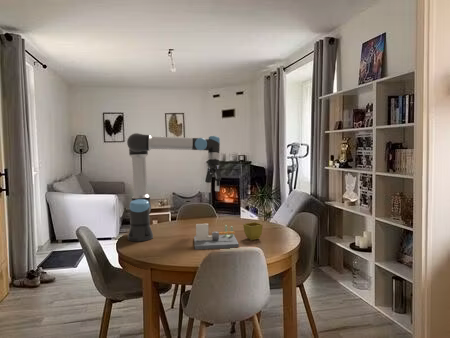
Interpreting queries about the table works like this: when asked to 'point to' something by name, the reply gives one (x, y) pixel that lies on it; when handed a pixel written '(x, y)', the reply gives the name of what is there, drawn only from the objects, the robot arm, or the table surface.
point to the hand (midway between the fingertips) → (212, 191)
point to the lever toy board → (218, 242)
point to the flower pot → (253, 230)
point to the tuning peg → (207, 233)
